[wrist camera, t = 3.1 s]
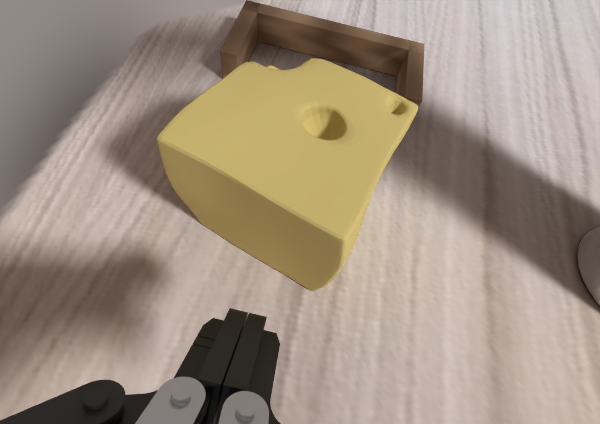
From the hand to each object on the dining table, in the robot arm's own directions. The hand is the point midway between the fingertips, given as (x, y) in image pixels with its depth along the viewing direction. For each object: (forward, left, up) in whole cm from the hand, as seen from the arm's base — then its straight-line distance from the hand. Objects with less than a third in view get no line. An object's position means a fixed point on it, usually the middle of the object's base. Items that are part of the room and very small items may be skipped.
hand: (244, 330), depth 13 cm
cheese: (0, -10, -9) cm, 13 cm away
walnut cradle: (0, -26, -8) cm, 27 cm away
